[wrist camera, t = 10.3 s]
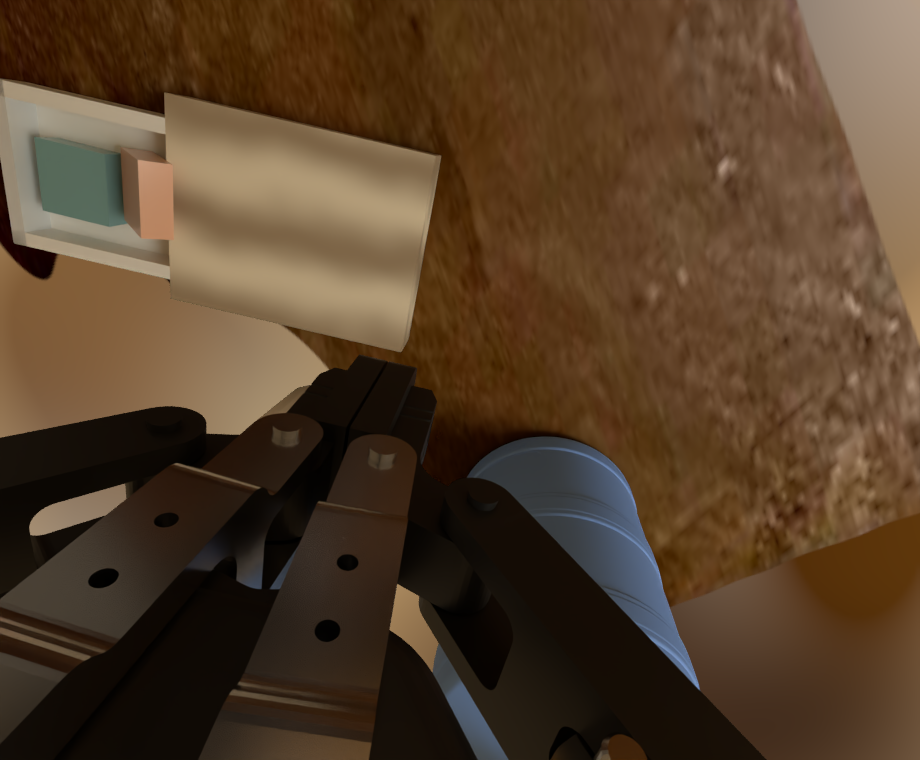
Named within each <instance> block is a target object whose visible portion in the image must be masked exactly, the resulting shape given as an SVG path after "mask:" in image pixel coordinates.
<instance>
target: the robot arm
mask: <svg viewBox="0 0 920 760" xmlns="http://www.w3.org/2000/svg"><path fill="white" fill-rule="evenodd" d="M416 372H417V368H415V367H411V366H406V365H402V364H398V363H394V362H388V361H385V360H381V359H376V358H372V357H368V356H364V355H359V356H358V357H357V358H356V360H355V361H354V362H353V364H352V365H351V366H350V367H349V369H348V370H343V369H338V368H333V369H331V370H328V371H326V372H323V373H321V374H319V376H318V377H317V378H316V379H315V380H314V381H313V383H312V385H310V386H309V387H308V388H307V389H306V391H305V393H303V394H302V395H301V396H300V398H299V399H298V400H297V401H296V402H295V403H294V404H293V406H292V407H291V408H290V409H289V410H288V411H287V412H286V413H278V414H272V415H267V416H265V417H262V418H260V419H258V420H257V421H255V422H254V423H253V424H252V425H251V426H250V427H248V428H247V429H246V430H245V431H244V432H243V433H242V434H240V435H224V434H206V420H205V418H204V417H203V416H202V415H201V414H199V413H198V412H195V411H193V410H190V409H187V408H182V407H173V406H170V407H169V406H165V407H155V408H149V409H144V410H139V411H134V412H129V413H124V414H119V415H114V416H109V417H104V418H98V419H94V420H88V421H83V422H79V423H73V424H68V425H63V426H58V427H53V428H48V429H43V430H37V431H32V432H27V433H23V434H17V435H12V436H7V437H2V438H0V760H478V759H477V757H476V755H475V753H474V751H473V749H472V747H471V745H470V743H469V741H468V740H467V738H466V736H465V734H464V732H463V730H462V728H461V726H460V724H459V722H458V720H457V718H456V716H455V714H454V712H453V710H452V708H451V706H450V705H449V703H448V701H447V699H446V697H445V695H444V693H443V691H442V689H441V687H440V685H439V683H438V681H437V680H436V678H435V676H434V674H433V673H432V672H431V670H430V669H429V667H428V666H427V664H426V663H425V662H424V661H423V659H422V658H421V657H420V656H419V655H418V654H417V652H416V651H415V650H414V649H413V648H412V647H411V646H410V645H409V644H407V643H406V642H405V641H404V640H403V639H402V638H400V637H399V636H397V635H396V634H394V633H393V632H391V631H390V630H389V629H390V623H391V617H392V611H393V605H394V599H395V594H396V588H397V584H399V585H401V586H402V587H404V588H406V589H408V590H410V591H411V592H413V593H415V594H416V595H418V596H420V597H419V608H420V611H421V614H422V616H423V617H424V619H425V621H426V623H427V624H428V626H429V627H430V629H431V631H432V633H433V634H434V636H435V638H436V639H437V641H438V643H439V644H440V646H441V648H442V649H443V651H444V653H445V654H446V656H447V658H448V659H449V661H450V663H451V664H452V666H453V668H454V669H455V671H456V673H457V674H458V676H459V678H460V679H461V681H462V683H463V684H464V686H465V688H466V689H467V691H468V693H469V694H470V696H471V698H472V699H473V701H474V703H475V705H476V706H477V708H478V710H479V711H480V713H481V715H482V716H483V718H484V720H485V721H486V723H487V725H488V726H489V728H490V730H491V731H492V733H493V735H494V736H495V738H496V740H497V741H498V743H499V745H500V746H501V748H502V750H503V751H504V753H505V755H506V756H507V758H508V760H766V759H765V758H764V757H763V756H762V755H761V753H759V751H758V750H756V748H755V747H754V746H753V745H752V744H751V743H750V742H749V741H748V740H747V739H746V738H745V737H744V736H743V735H742V734H741V733H740V732H739V731H738V730H737V729H736V728H735V726H734V725H732V723H731V722H729V720H728V719H727V718H726V717H725V716H724V715H723V714H722V713H721V712H720V711H719V710H718V709H717V708H716V707H715V706H714V705H713V704H712V703H711V702H710V700H709V699H708V698H707V697H706V696H705V695H704V694H703V693H702V692H701V691H700V690H699V689H698V688H697V687H696V686H695V685H694V684H693V683H692V682H691V681H690V680H689V679H688V678H687V677H686V675H685V674H684V673H683V672H682V671H681V670H680V669H679V668H678V667H677V666H676V665H675V664H674V663H673V662H672V661H671V660H670V659H669V658H668V657H667V656H666V655H665V654H664V653H663V652H662V651H661V649H660V648H659V647H658V646H657V645H656V644H655V643H654V642H653V641H652V640H651V639H650V638H649V637H648V636H647V635H646V634H645V633H644V632H643V631H642V630H641V629H640V628H639V627H638V626H637V625H636V623H635V622H634V621H633V620H632V619H631V618H630V617H629V616H628V615H627V614H626V613H625V612H624V611H623V610H622V609H621V608H620V607H619V606H618V605H617V604H616V603H615V602H614V601H613V600H612V599H611V597H610V596H609V595H608V594H607V593H606V592H605V591H604V590H603V589H602V588H601V587H600V586H599V585H598V584H597V583H596V582H595V581H594V580H593V579H592V578H591V577H590V576H589V575H588V574H587V573H586V571H585V570H584V569H583V568H582V567H581V566H580V565H579V564H578V563H577V562H576V561H575V560H574V559H573V558H572V557H571V556H570V555H569V554H568V553H567V552H566V551H565V550H564V549H563V548H562V547H561V545H560V544H559V543H558V542H557V541H556V540H555V539H554V538H553V537H552V536H551V535H550V534H549V533H548V532H547V531H546V530H545V529H544V528H543V527H542V526H541V525H540V524H539V523H538V522H537V521H536V519H535V518H534V517H533V516H532V515H531V514H530V513H529V512H528V511H527V510H526V509H525V508H524V507H523V506H522V505H521V504H520V503H519V502H518V501H517V500H516V499H515V498H514V497H513V496H512V495H511V493H509V492H508V491H507V490H506V489H505V488H503V487H502V486H500V485H498V484H496V483H494V482H492V481H489V480H486V479H481V478H462V479H458V480H456V481H454V482H452V483H451V484H450V485H449V486H446V485H444V484H442V483H440V482H438V481H436V480H435V479H434V478H432V477H431V476H430V475H429V474H428V473H427V472H426V471H425V470H424V468H423V467H422V463H423V460H424V456H425V453H426V449H427V444H428V440H429V435H430V431H431V426H432V422H433V417H434V413H435V408H436V403H437V400H436V398H435V396H434V394H433V392H432V390H428V389H424V388H420V387H415V386H414V384H415V379H416ZM121 484H125V486H126V498H127V499H126V500H125V501H124V502H122V503H121V504H120V505H118V506H117V507H116V508H115V509H113V510H112V511H111V512H110V513H108V514H107V515H106V516H102V517H99V518H96V519H93V520H90V521H86V522H83V523H80V524H77V525H74V526H71V527H68V528H64V529H61V530H58V531H55V532H52V533H48V534H45V535H40V536H32V535H30V532H29V525H30V522H31V520H32V518H33V517H34V516H35V515H36V514H37V513H38V512H39V511H40V510H42V509H43V508H45V507H47V506H49V505H51V504H54V503H57V502H61V501H65V500H68V499H72V498H75V497H79V496H82V495H86V494H89V493H93V492H96V491H100V490H103V489H107V488H110V487H114V486H117V485H121Z"/></svg>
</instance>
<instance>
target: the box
mask: <svg viewBox="0 0 920 760" xmlns="http://www.w3.org/2000/svg"><path fill="white" fill-rule="evenodd" d="M34 137H58V138H62V139H66V140H70V141H74V142H78V143H82V144H86V145H90V146H94V147H98V148H102V149H106V150H110V151H114V152H118V153H121V150H120V147H126V148H132V149H139V150H146V151H153V152H154V153H156V154H157V155H159V156H160V157H162V158H163V159H165V160H166V134H165V114H161V113H157V112H152V111H148V110H144V109H140V108H135V107H131V106H127V105H123V104H118V103H114V102H110V101H105V100H101V99H97V98H93V97H88V96H84V95H80V94H75V93H71V92H67V91H63V90H58V89H54V88H50V87H45V86H41V85H37V84H33V83H28V82H22V81H15V80H8V79H1V78H0V160H1V166H2V172H3V179H4V185H5V191H6V197H7V204H8V210H9V216H10V223H11V229H12V235H13V241H14V243H15V244H20V245H24V246H28V247H33V248H37V249H41V250H46V251H50V252H54V253H58V254H63V255H67V256H72V257H76V258H80V259H84V260H88V261H93V262H98V263H102V264H106V265H110V266H114V267H118V268H123V269H127V270H131V271H136V272H140V273H145V274H149V275H153V276H157V277H161V278H166V279H170V261H169V240H163V239H142V238H140V237H139V236H138V234H137V233H136V232H135V231H134V230H133V229H132V228H131V227H130V225H129V224H123V225H118V226H112V227H107V226H103V225H99V224H95V223H91V222H87V221H83V220H79V219H75V218H71V217H67V216H63V215H59V214H55V213H51V212H47V211H43V208H42V200H41V191H40V183H39V174H38V166H37V157H36V149H35V140H34Z"/></svg>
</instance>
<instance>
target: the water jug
mask: <svg viewBox="0 0 920 760" xmlns="http://www.w3.org/2000/svg"><path fill="white" fill-rule="evenodd" d="M467 478H481V479H486V480H489V481H492V482H494V483H496V484H498V485H500V486H502V487H503V488H505V489H506V490H507V491H508V492H509V493H511V495H512V496H513V497H514V498H515V499H516V500H517V501H518V502H519V503H520V504H521V505H522V506H523V507H524V508H525V509H526V510H527V511H528V512H529V513H530V514H531V515H532V516H533V517H534V518H535V519H536V521H537V522H538V523H539V524H540V525H541V526H542V527H543V528H544V529H545V530H546V531H547V532H548V533H549V534H550V535H551V536H552V537H553V538H554V539H555V540H556V541H557V542H558V543H559V544H560V545H561V547H562V548H563V549H564V550H565V551H566V552H567V553H568V554H569V555H570V556H571V557H572V558H573V559H574V560H575V561H576V562H577V563H578V564H579V565H580V566H581V567H582V568H583V569H584V570H585V571H586V573H587V574H588V575H589V576H590V577H591V578H592V579H593V580H594V581H595V582H596V583H597V584H598V585H599V586H600V587H601V588H602V589H603V590H604V591H605V592H606V593H607V594H608V595H609V596H610V597H611V599H612V600H613V601H614V602H615V603H616V604H617V605H618V606H619V607H620V608H621V609H622V610H623V611H624V612H625V613H626V614H627V615H628V616H629V617H630V618H631V619H632V620H633V621H634V622H635V623H636V625H637V626H638V627H639V628H640V629H641V630H642V631H643V632H644V633H645V634H646V635H647V636H648V637H649V638H650V639H651V640H652V641H653V642H654V643H655V644H656V645H657V646H658V647H659V648H660V649H661V651H662V652H663V653H664V654H665V655H666V656H667V657H668V658H669V659H670V660H671V661H672V662H673V663H674V664H675V665H676V666H677V667H678V668H679V669H680V670H681V671H682V672H683V673H684V674H685V675H686V677H687V678H688V679H689V680H690V681H691V682H692V683H693V684H694V685H695V686H696V687H697V688H698V689H699V685H698V681H697V678H696V675H695V672H694V670H693V667H692V664H691V661H690V659H689V656H688V653H687V651H686V649H685V646H684V644H683V642H682V641H681V639H680V637H679V635H678V631H677V628H676V625H675V623H674V620H673V617H672V614H671V611H670V608H669V605H668V602H667V599H666V596H665V594H664V591H663V586H662V581H661V577H660V573H659V569H658V567H657V564H656V561H655V558H654V555H653V553H652V550H651V548H650V546H649V544H648V542H647V540H646V538H645V536H644V533H643V530H642V527H641V524H640V521H639V518H638V515H637V509H636V505H635V501H634V498H633V495H632V492H631V490H630V487H629V485H628V483H627V481H626V479H625V477H624V475H623V474H622V473H621V471H620V470H619V469H618V468H617V466H616V465H615V464H614V463H613V462H612V461H611V460H610V459H608V458H607V457H606V456H605V455H603V454H602V453H600V452H599V451H597V450H595V449H594V448H592V447H590V446H588V445H585V444H583V443H580V442H577V441H574V440H570V439H566V438H560V437H531V438H525V439H520V440H517V441H513V442H510V443H508V444H505V445H503V446H501V447H499V448H497V449H495V450H494V451H492V452H491V453H489V454H488V455H486V456H485V457H484V458H483V459H482V460H480V461H479V462H478V463H477V464H476V466H475V467H474V468H473V469H472V470H471V472H470V473H469V475H468V476H467ZM433 674H434V676H435V678H436V680H437V681H438V683H439V685H440V687H441V689H442V691H443V693H444V695H445V697H446V699H447V701H448V703H449V705H450V706H451V708H452V710H453V712H454V714H455V716H456V718H457V720H458V722H459V724H460V726H461V728H462V730H463V732H464V734H465V736H466V738H467V740H468V741H469V743H470V745H471V747H472V749H473V751H474V753H475V755H476V757H477V759H478V760H508V758H507V756H506V755H505V753H504V751H503V750H502V748H501V746H500V745H499V743H498V741H497V740H496V738H495V736H494V735H493V733H492V731H491V730H490V728H489V726H488V725H487V723H486V721H485V720H484V718H483V716H482V715H481V713H480V711H479V710H478V708H477V706H476V705H475V703H474V701H473V699H472V698H471V696H470V694H469V693H468V691H467V689H466V688H465V686H464V684H463V683H462V681H461V679H460V678H459V676H458V674H457V673H456V671H455V669H454V668H453V666H452V664H451V663H450V661H449V659H448V658H447V656H446V654H445V653H444V651H443V649H442V648H441V646H440V644H438V648H437V651H436V656H435V660H434V667H433ZM699 690H700V689H699Z"/></svg>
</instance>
